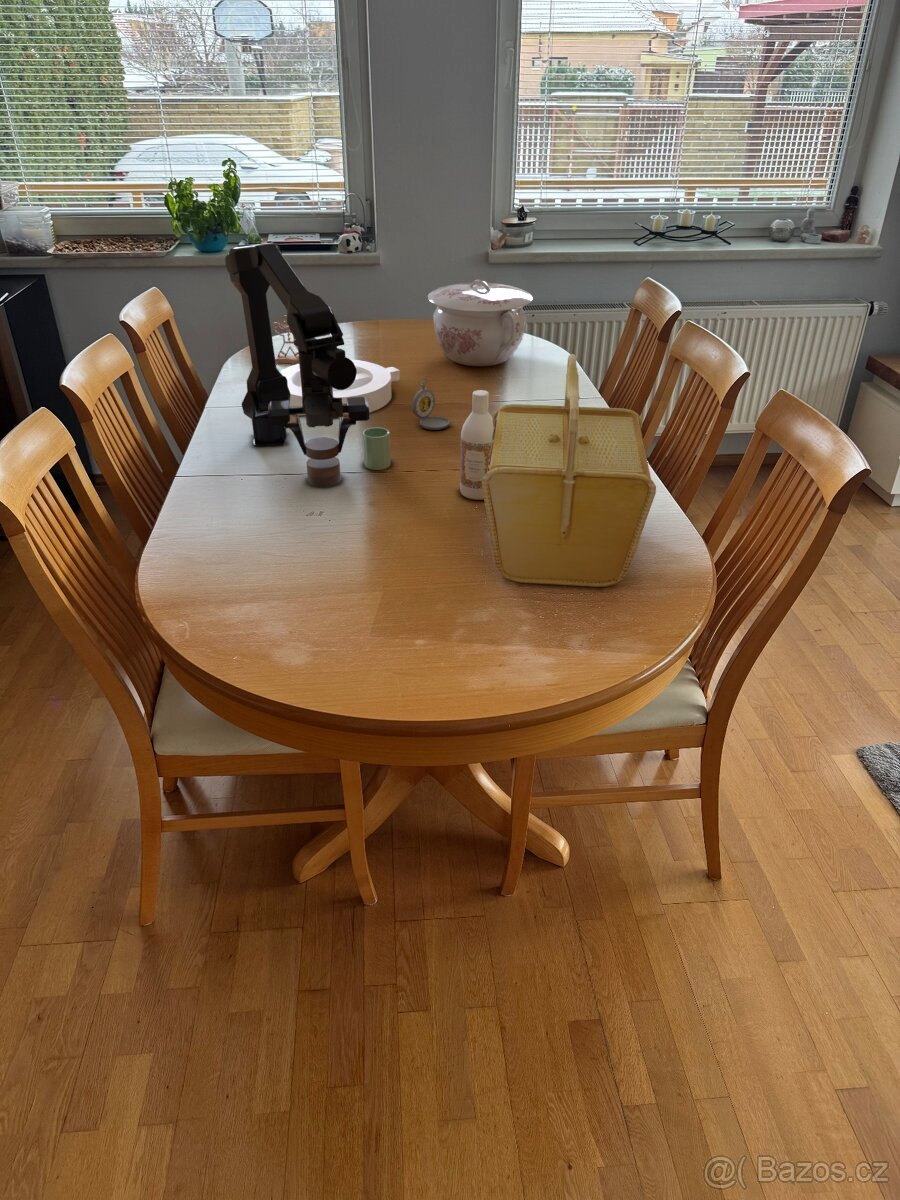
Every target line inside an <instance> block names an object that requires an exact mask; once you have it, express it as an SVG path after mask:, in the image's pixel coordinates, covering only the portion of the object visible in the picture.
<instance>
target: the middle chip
mask: <svg viewBox="0 0 900 1200" xmlns="http://www.w3.org/2000/svg"><path fill="white" fill-rule="evenodd" d="M306 472H307V475H308V474H309V475H310V476H312V477H316V478H329V477H333V476H335V475H337V474H338V473H339V472H340V473H341V463H340V459H339V458H338V457H337V456H336V457H334V458H331V459H326V460H316V459H311V458H308V459H307V461H306Z"/></svg>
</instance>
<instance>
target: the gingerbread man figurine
mask: <svg viewBox="0 0 900 1200" xmlns="http://www.w3.org/2000/svg"><path fill="white" fill-rule="evenodd" d="M284 318H287V314H286V315H283V316H282V317H281V319H280V322H278V321H275V322H273V324H272V329H273V332H274V333H275V334H276V335H278V336H279V337H282V339H283V340H282V341H283V344H282V346H281V348H280V350H279V353H278V354H275V362H276V364H295V365H296V364H299V354H298V351H297V352H295V351H294V349H293V348H292V346H291V345H290V346H289V347H288V349H287V350H286V352H285V351H283V348H284V346H285V344H287V345H288V344H293V345H294V341H295V338H294V336H293V335H292V337H293V341H291V337H290V336H291V334H292V333H291V331H290V329H289V325H288V323H287V321H286V320H287V319H284ZM283 319H284V320H283ZM275 324H276V326H275ZM277 329H280V330H281V331H284V333H285V334H286V335H285V334H282V333H280V332H279V331H277ZM285 336H287V341H286V337H285ZM294 346H295V348H296V350H298V347H297V346H296V345H294ZM289 351H291V353H292V355H291V354H288V353H289Z"/></svg>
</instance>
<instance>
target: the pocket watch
mask: <svg viewBox="0 0 900 1200" xmlns="http://www.w3.org/2000/svg"><path fill="white" fill-rule="evenodd" d="M422 380H425V382H422V384H421V381H422ZM427 384H428V379H427V378H424V377H423V378H420V379H419V380H418V385H419V386H420V387H421V388H422V389H420V390H418V391H417V392H416V393H415V394H414V397H413V398H412V400H411V411H412V413H413V415H414V417H416V418H418V419H420V421H419V426H420V427H422V428H423V429H425V430H431V431H439V430H443V429H446V428H448V427H449V426H450V420H449V419H448V418H446V417H443V416H438V415H437V416H435V415H432V416H430V415H431V414H432V412H433V411H434V408H435V405H436V397H435V394H434V392H433V391H432V390H431V389H429V388H426V387H427Z"/></svg>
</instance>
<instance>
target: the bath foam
mask: <svg viewBox="0 0 900 1200" xmlns="http://www.w3.org/2000/svg"><path fill="white" fill-rule="evenodd" d="M489 396H490V394H489V391H487V390H484V389H477V390H474V391H473V392H472V396H471V397H472V401H471V403H472V404H471V410H472V411H471V412H470V414H469V415H468V416H467V418H466V419H465V421H464V423H463V425H462V428H461V431H460V457H459V459H460V460H459V462H460V466H459V468H460V470H459V479H460V480H459V491H460V494H461V496H463V497H464V498H466V499H470V500H474V501H478V500H479V501H483V500H484V495H483V490H482V479H483V477H484V476H485V475H486V473H487V468H488V462H489V455H490V449H491V443H492V437H493V431H494V428H493V416H492V415H491V414H490V412H489V400H490V399H489Z"/></svg>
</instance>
